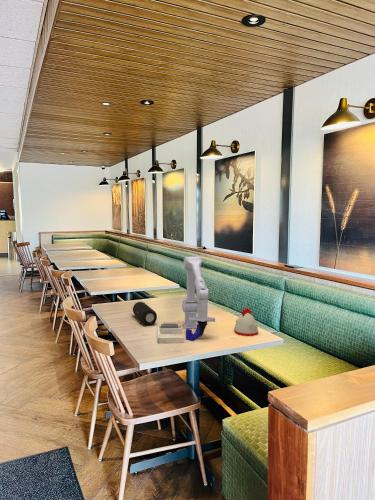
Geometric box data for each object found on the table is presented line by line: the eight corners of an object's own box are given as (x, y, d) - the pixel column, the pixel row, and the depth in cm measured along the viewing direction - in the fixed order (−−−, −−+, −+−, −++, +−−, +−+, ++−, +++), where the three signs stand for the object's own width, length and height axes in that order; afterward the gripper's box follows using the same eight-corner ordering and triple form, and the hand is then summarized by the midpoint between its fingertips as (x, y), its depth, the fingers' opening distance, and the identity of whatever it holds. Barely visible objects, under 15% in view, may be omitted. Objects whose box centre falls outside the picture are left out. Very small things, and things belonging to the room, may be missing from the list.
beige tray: (157, 330, 215) (157, 325, 215) (180, 330, 216) (180, 325, 216) (158, 343, 194) (158, 337, 194) (183, 342, 196) (184, 337, 195)
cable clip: (192, 341, 198) (192, 331, 197) (185, 339, 201) (185, 329, 200) (204, 336, 207) (204, 325, 207) (198, 334, 210) (198, 324, 209)
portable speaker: (131, 315, 244) (131, 301, 243) (145, 314, 248) (145, 300, 247) (142, 327, 221) (143, 311, 220) (158, 325, 225) (158, 309, 224)
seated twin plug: (160, 331, 214) (161, 322, 213) (177, 330, 215) (177, 322, 214) (161, 333, 210) (161, 324, 210) (178, 332, 211) (178, 324, 211)
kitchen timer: (229, 331, 216) (230, 306, 215) (245, 327, 224) (246, 303, 223) (246, 338, 205) (247, 312, 203) (262, 333, 213) (263, 308, 212)
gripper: (190, 312, 197) (189, 336, 198) (216, 312, 198) (215, 336, 200) (188, 309, 204) (188, 332, 205) (214, 309, 205) (213, 332, 207)
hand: (201, 334), depth 203 cm, fingers closed
